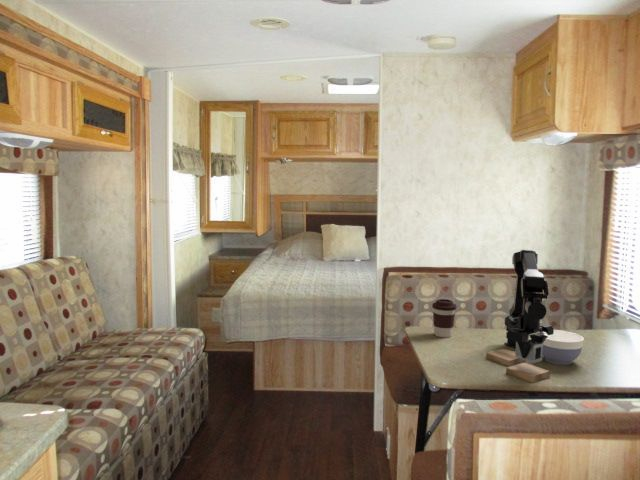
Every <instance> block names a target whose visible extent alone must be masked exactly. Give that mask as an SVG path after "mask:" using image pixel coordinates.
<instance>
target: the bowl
mask: <svg viewBox="0 0 640 480" xmlns="http://www.w3.org/2000/svg"><path fill="white" fill-rule="evenodd" d="M544 335H545V336H548V337H547V338H546V339H545V341H544V342H543V353H542V357H544V359H545V361H546V362H548V363H551V364H554V365H562V366H567V365H571V364H572V363H573V362H574V361H575V360H577V358H579V356H580V354H581V353H582V350H583V347H584V342H585V341H584V340H585V338H584V337H583V336H582V335H580V334H578V333H575V332H573V331H568V330H561V329H554V332H553V334H552V335H547V333H546V332H544Z"/></svg>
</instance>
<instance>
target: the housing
mask: <svg viewBox="0 0 640 480" xmlns="http://www.w3.org/2000/svg"><path fill="white" fill-rule="evenodd" d="M529 340H531V338H529ZM531 341H532V342H531V345H530V348H529V351H528V353H527V356H526V358H522V355H521V352H520V348H519V345H518V343H517V342H516V348H515V351H514V352H515V357H516V358H519V359H522V360H525V362H529V363H531V364H535V363H539V362H541V361H543V355H542V353H543V343H540V342H537V341H534V340H531Z"/></svg>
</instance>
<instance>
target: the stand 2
mask: <svg viewBox="0 0 640 480" xmlns="http://www.w3.org/2000/svg"><path fill="white" fill-rule="evenodd" d="M505 373H506V374H507V375H510V376H512V377H515V378H517V379H520V380H524V381H526V382H529V383H531V384H532V383H534V382H537V381H538V382H539V381H540V380H541V381H542V380H543V379H546V378H549V377H550V370H547V369H545V368H542V367H539V366H535V365H533V364H530V363H527V362H521V363H518V364H515V365H511V366H506V369H505Z"/></svg>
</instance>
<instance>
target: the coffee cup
mask: <svg viewBox="0 0 640 480" xmlns="http://www.w3.org/2000/svg"><path fill="white" fill-rule="evenodd" d="M431 305H432V308H433V312H432V313H433V314H432V315H433V316H432V317H433V319H432V320H433V335H435V336H436V337H438V338H450V337H452V336H453V327H454V324H455V316H456V312H455V311H456V310H457V307H458V306H457V304H455V303H454V301H453V300H451V299H446V298H439V299H436V300H435V302H433V303H432V304H431Z"/></svg>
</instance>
